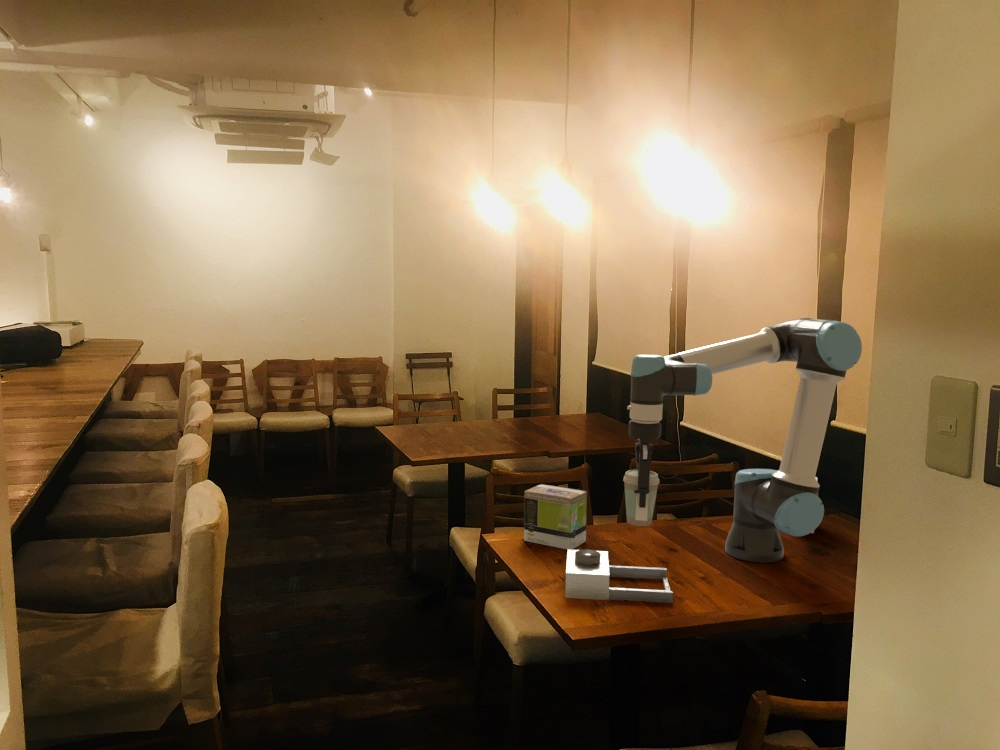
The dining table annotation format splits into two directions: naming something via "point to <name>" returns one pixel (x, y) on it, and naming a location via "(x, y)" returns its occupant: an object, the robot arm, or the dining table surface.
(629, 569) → the button box with rail
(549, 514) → the tea box
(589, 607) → the dining table surface
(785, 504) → the robot arm
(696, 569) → the dining table surface
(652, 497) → the coffee cup
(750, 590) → the dining table surface
